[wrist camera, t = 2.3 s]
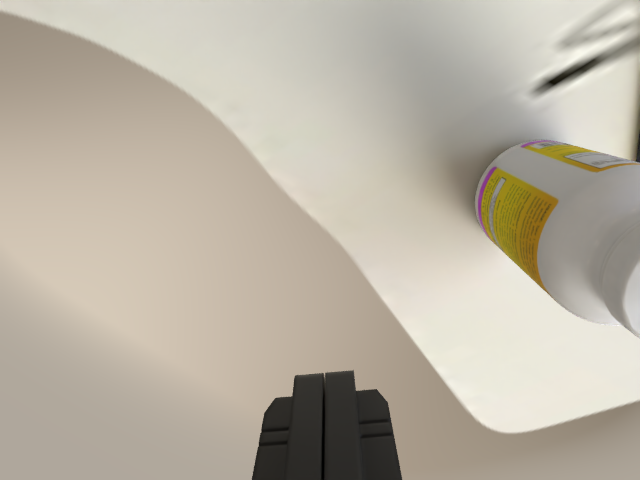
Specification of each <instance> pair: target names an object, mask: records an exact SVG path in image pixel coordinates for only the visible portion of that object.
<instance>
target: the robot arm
mask: <svg viewBox="0 0 640 480" xmlns="http://www.w3.org/2000/svg"><path fill="white" fill-rule="evenodd" d="M252 480H402V477H401V471H400V466H399V460H398V455H397V450H396V444H395V439H394V434H393V429H392V423H391V418H390V412H389V407H388V402H387V401H386V400H385V399H384V398H383V396H382V395H381V394H380V393H379V392H378V390H377V389H374V390H362V391H356V388H355V379H354V371H342V372H330V373H325V378H324V374H323V373H321V374H320V373H319V374H309V375H296V376H295V378H294V387H293V396H292V397H280V398H275V399H274V401H273V402H272V403H271V405H270V406H269V407H268V409H267V410H266V412H265V413H264V418H263V424H262V433H261V435H260V440H259V447H258V450H257V455H256V460H255V466H254V471H253V476H252Z"/></svg>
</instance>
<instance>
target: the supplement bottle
mask: <svg viewBox="0 0 640 480" xmlns="http://www.w3.org/2000/svg"><path fill="white" fill-rule="evenodd" d="M475 210H476V215H477V219H478V222H479V224H480V226H481V228H482V229H483V231H484V232H485V234H486V235H487V236H488V237H489V239H490V240H491V241H492V242H493V243H494V244H496V245H497V246H498V247H499V248H500V249H501V250H502V251H503V252H504V253H505V254H506V255H507V256H508V257H509V258H510V259H511V260H512V261H514V262H515V263H516V264H517V265H518V266H519V267H520V268H521V269H522V270H523V271H524V272H525V273H526V274H527V275H529V276H530V277H531V278H532V279H533V280H534V281H535V282H536V283H537V284H538V285H539V286H540V287H541V288H542V289H543V290H545V291H546V292H547V293H548V294H549V295H550V296H551V297H552V298H553V299H554V300H555V301H556V302H557V303H559V304H560V305H561V306H562V307H564V308H565V309H566V310H567V311H569V312H571V313H572V314H574V315H576V316H578V317H580V318H582V319H585V320H587V321H590V322H594V323H598V324H604V325H623V326H624V327H625V328H627V329H628V330H629V331H631V332H632V333H633V334H634V335H636V336H637V337H639V338H640V163H639V162H635V161H631V160H627V159H623V158H619V157H615V156H611V155H608V154H604V153H600V152H596V151H592V150H588V149H584V148H581V147H577V146H573V145H569V144H566V143H562V142H557V141H551V140H533V141H528V142H524V143H520V144H518V145H515V146H513V147H511V148H509V149H508V150H506V151H504V152H503V153H502V154H500V155H499V156H498V157H497V158H496V159H494V160H493V161H492V162H491V164H490V165H489V166H488V167H487V169H486V170H485V172H484V173H483V175H482V177H481V179H480V181H479V184H478V187H477V190H476V196H475Z"/></svg>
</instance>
